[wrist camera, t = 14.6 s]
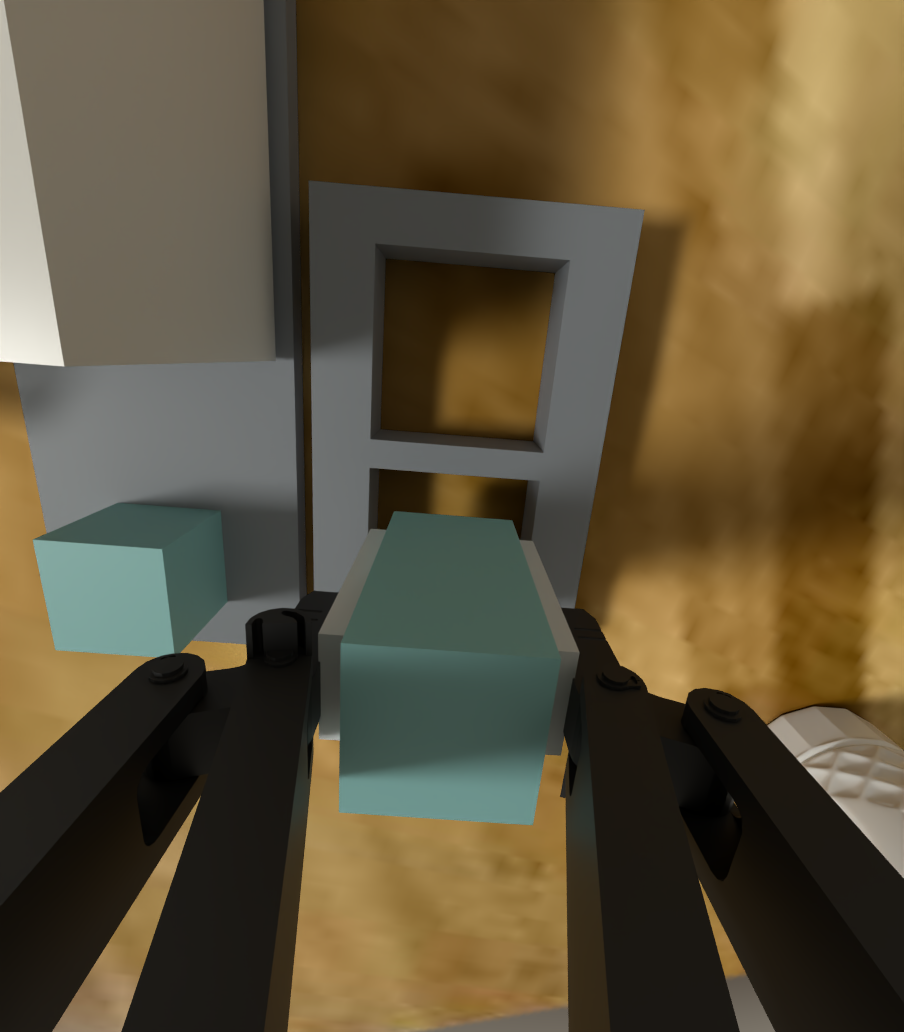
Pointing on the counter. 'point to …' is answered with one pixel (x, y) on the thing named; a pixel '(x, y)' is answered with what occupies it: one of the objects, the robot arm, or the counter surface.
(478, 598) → the peg
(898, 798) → the white cup
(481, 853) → the counter surface
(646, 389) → the counter surface
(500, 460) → the socket board
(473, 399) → the counter surface
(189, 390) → the board
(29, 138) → the cover
